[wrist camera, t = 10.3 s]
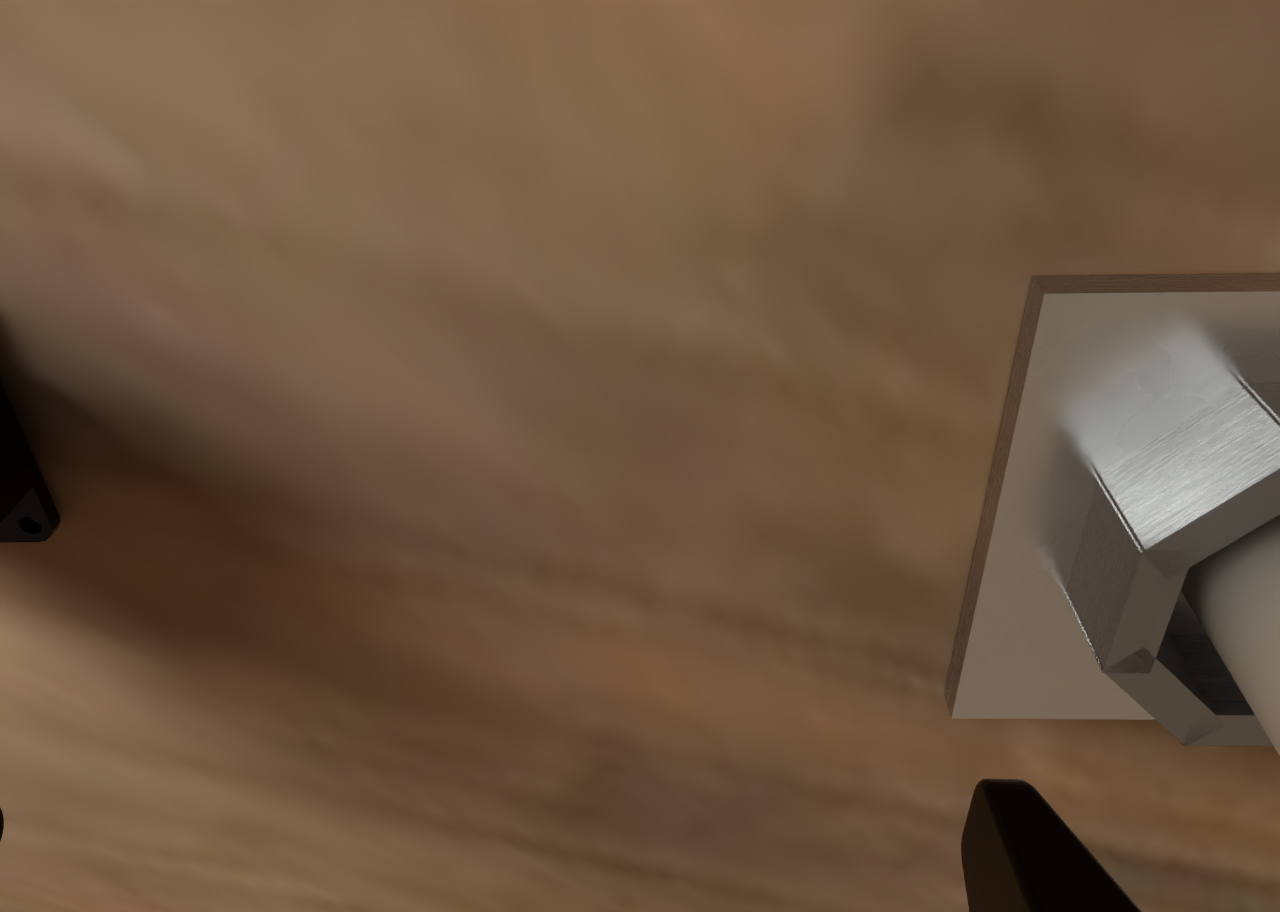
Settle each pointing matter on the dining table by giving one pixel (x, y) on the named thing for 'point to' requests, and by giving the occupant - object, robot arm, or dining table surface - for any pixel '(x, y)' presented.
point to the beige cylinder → (1245, 616)
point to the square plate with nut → (1122, 502)
